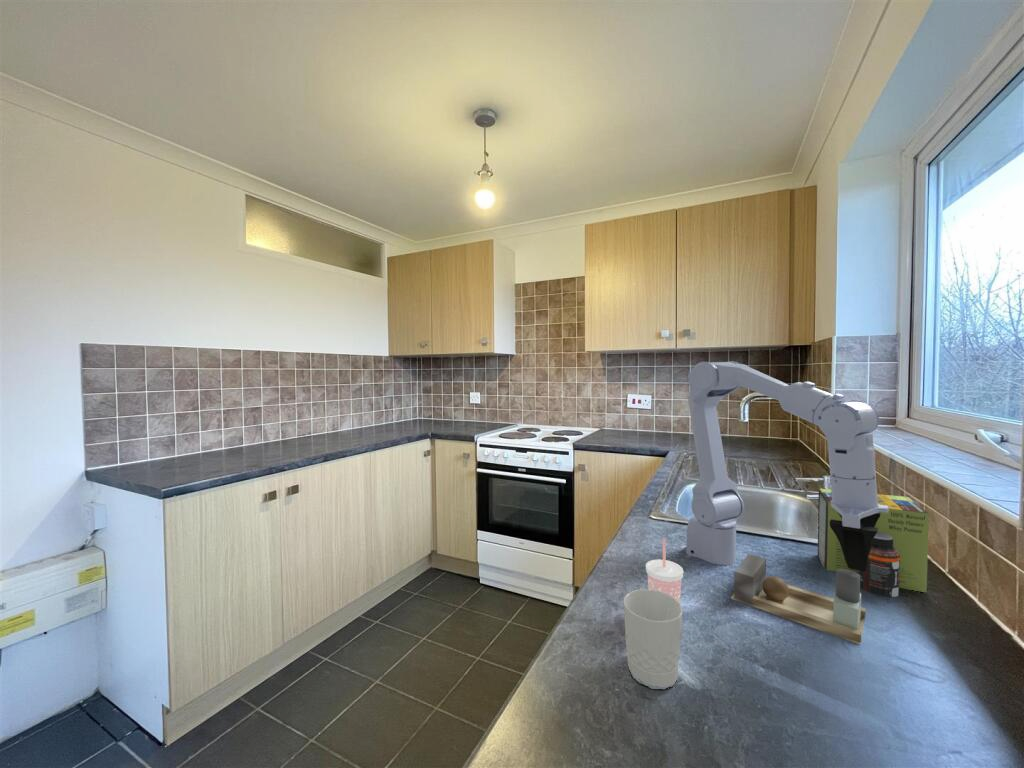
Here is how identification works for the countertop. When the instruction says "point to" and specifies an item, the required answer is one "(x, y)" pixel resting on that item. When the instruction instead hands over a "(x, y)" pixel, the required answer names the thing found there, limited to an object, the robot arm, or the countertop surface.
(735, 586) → the base
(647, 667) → the white cup
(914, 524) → the protein box
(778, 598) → the nut
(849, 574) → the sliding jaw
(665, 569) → the beverage cup
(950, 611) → the countertop surface
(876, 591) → the supplement bottle
